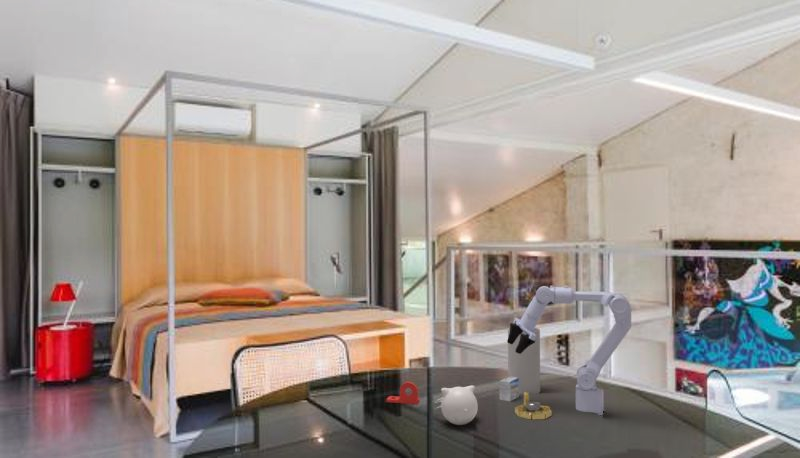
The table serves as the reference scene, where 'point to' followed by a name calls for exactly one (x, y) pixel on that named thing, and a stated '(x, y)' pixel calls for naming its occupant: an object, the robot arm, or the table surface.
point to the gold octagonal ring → (541, 414)
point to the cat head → (458, 404)
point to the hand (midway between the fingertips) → (513, 347)
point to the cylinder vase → (525, 364)
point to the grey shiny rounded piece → (532, 406)
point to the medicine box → (509, 388)
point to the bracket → (406, 395)
